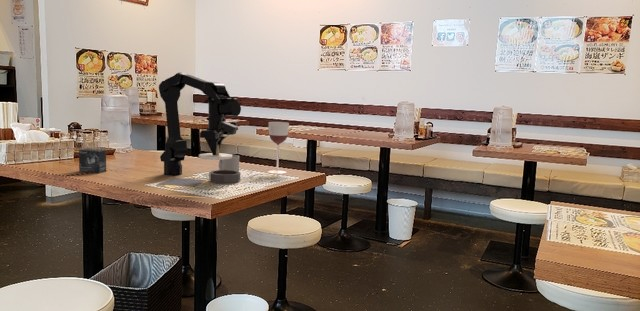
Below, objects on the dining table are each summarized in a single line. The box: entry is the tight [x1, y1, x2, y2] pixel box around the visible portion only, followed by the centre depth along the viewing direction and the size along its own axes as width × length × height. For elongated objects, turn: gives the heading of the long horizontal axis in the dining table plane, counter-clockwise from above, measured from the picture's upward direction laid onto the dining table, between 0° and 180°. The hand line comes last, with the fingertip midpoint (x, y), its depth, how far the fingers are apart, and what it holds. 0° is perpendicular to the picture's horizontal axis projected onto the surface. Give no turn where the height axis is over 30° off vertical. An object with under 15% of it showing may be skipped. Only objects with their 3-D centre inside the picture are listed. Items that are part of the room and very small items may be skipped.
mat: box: [159, 177, 208, 188], centre depth 191 cm, size 14×14×1 cm
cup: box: [218, 154, 240, 172], centre depth 211 cm, size 7×10×9 cm
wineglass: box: [267, 121, 290, 175], centre depth 226 cm, size 9×10×23 cm
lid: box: [198, 145, 233, 161], centre depth 194 cm, size 13×13×5 cm
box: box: [78, 148, 107, 174], centre depth 207 cm, size 9×6×10 cm, turn 81°
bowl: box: [208, 169, 241, 185], centre depth 197 cm, size 12×12×4 cm
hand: (215, 154), depth 194 cm, fingers closed on lid, 3 cm apart
